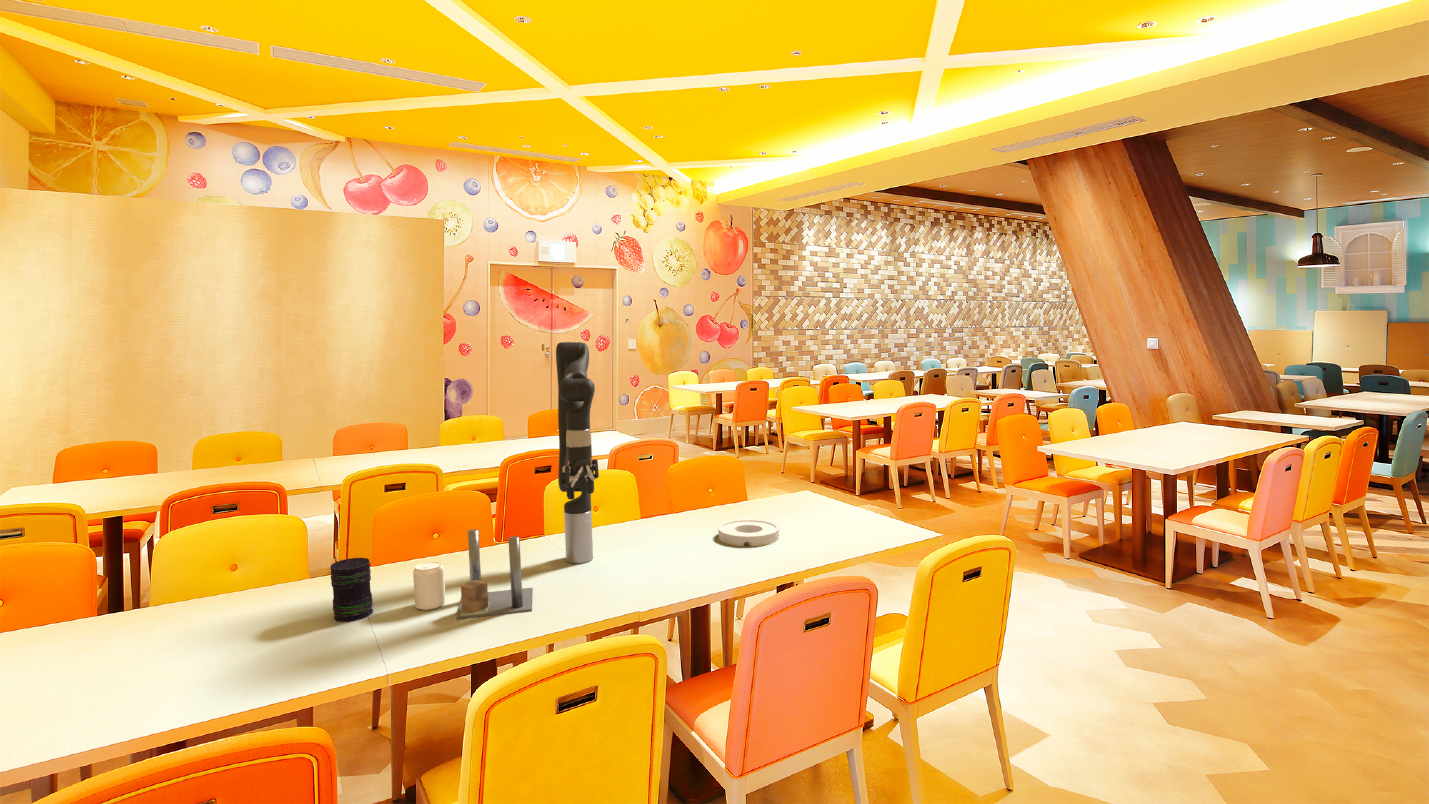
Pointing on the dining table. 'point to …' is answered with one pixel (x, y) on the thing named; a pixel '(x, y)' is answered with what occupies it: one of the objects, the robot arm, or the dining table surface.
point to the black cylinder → (351, 589)
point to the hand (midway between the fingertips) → (580, 496)
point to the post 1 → (474, 555)
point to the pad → (476, 612)
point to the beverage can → (429, 585)
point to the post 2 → (515, 572)
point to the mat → (501, 604)
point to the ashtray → (748, 532)
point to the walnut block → (474, 596)
